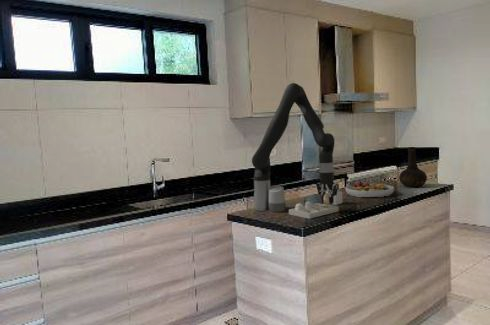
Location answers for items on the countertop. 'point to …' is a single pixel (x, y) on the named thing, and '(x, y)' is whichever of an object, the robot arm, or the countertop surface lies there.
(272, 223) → the countertop surface
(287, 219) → the countertop surface
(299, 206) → the white egg near
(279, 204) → the smart speaker
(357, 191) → the bowl
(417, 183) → the dark brown vase
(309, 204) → the white egg middle
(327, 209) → the egg carton
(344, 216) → the countertop surface
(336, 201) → the medicine bottle
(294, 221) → the countertop surface
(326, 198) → the tan egg
